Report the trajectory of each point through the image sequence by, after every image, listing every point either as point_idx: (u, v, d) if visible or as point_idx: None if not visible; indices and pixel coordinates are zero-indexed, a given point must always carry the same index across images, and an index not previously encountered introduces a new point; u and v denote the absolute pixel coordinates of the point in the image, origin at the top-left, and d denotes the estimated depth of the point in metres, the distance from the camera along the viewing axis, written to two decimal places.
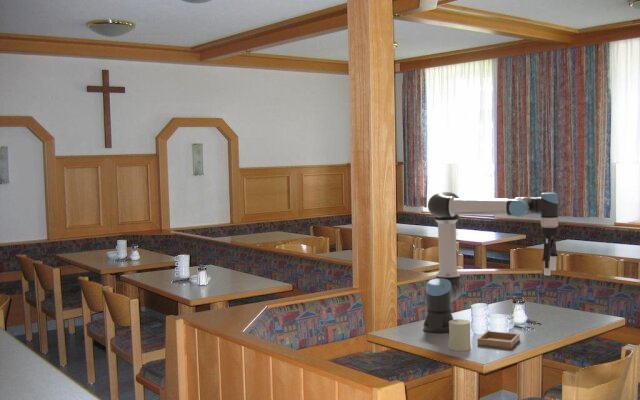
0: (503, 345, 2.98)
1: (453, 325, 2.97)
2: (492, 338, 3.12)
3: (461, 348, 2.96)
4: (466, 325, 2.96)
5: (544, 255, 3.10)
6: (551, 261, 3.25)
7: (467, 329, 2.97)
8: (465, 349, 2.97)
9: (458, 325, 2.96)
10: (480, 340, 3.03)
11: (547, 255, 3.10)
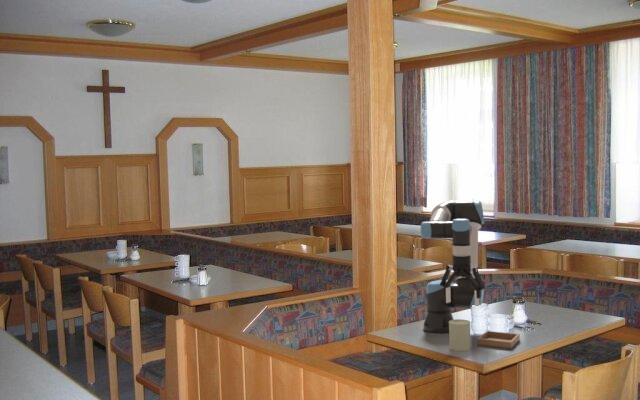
0: (503, 345, 2.98)
1: (453, 325, 2.97)
2: (492, 338, 3.12)
3: (461, 348, 2.96)
4: (466, 325, 2.96)
5: (481, 284, 2.93)
6: (448, 293, 3.03)
7: (467, 329, 2.97)
8: (465, 349, 2.97)
9: (458, 325, 2.96)
10: (480, 340, 3.03)
11: (483, 284, 2.94)
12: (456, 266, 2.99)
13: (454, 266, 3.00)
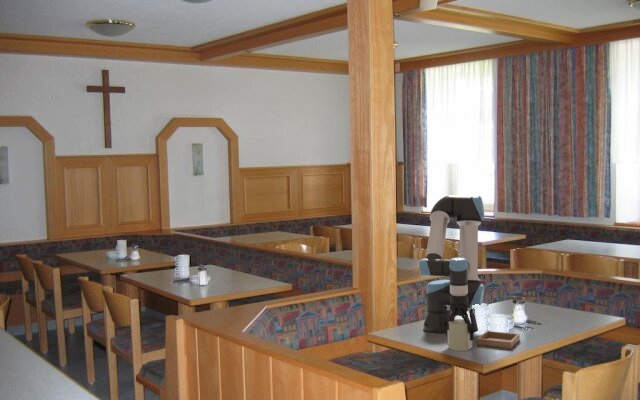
0: (503, 345, 2.98)
1: (453, 325, 2.97)
2: (492, 338, 3.12)
3: (461, 348, 2.96)
4: (466, 325, 2.96)
5: (475, 327, 2.95)
6: None
7: (467, 329, 2.97)
8: (465, 349, 2.97)
9: (458, 325, 2.96)
10: (480, 340, 3.03)
11: (476, 326, 2.96)
12: (453, 304, 3.00)
13: (451, 305, 3.01)
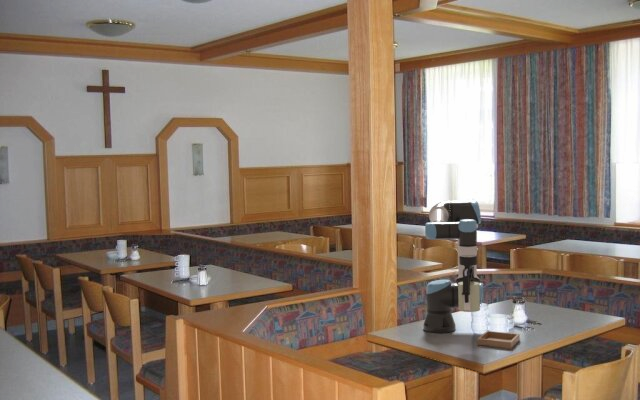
0: (503, 345, 2.98)
1: None
2: (492, 338, 3.12)
3: (459, 308, 3.00)
4: None
5: (464, 289, 2.94)
6: None
7: None
8: (462, 310, 2.99)
9: (458, 284, 3.00)
10: (480, 340, 3.03)
11: (467, 289, 2.93)
12: None
13: None
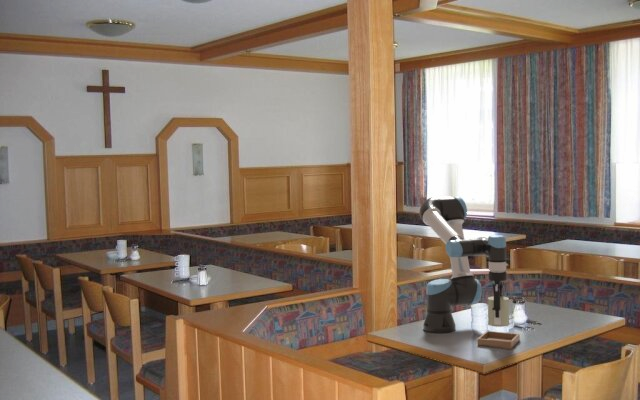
0: (503, 345, 2.98)
1: None
2: (492, 338, 3.12)
3: (489, 322, 3.04)
4: (493, 301, 3.02)
5: (495, 304, 2.98)
6: None
7: None
8: (492, 324, 3.03)
9: (488, 299, 3.05)
10: (480, 340, 3.03)
11: (498, 304, 2.98)
12: None
13: None
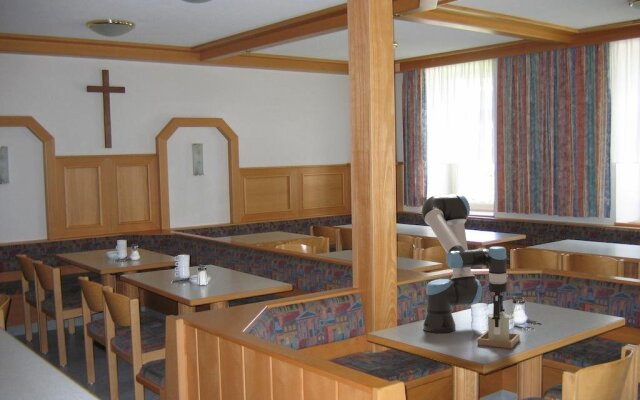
0: (503, 345, 2.98)
1: None
2: None
3: None
4: (493, 319, 3.02)
5: (494, 314, 2.97)
6: None
7: None
8: None
9: (488, 317, 3.06)
10: (480, 340, 3.03)
11: (497, 314, 2.96)
12: None
13: None
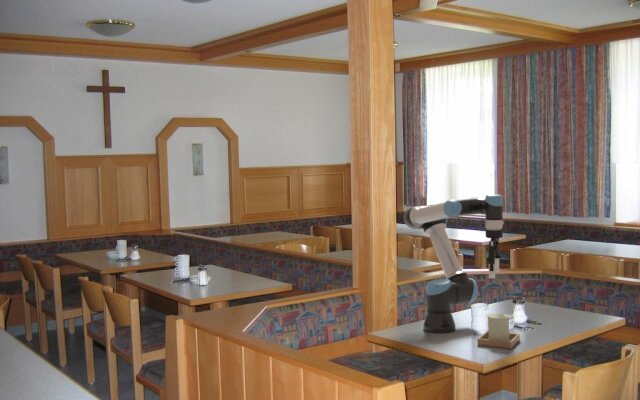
0: (503, 345, 2.98)
1: None
2: None
3: None
4: (493, 319, 3.02)
5: (489, 258, 3.08)
6: (494, 263, 3.23)
7: (495, 323, 3.02)
8: None
9: (488, 317, 3.05)
10: (480, 340, 3.03)
11: (492, 258, 3.07)
12: None
13: None
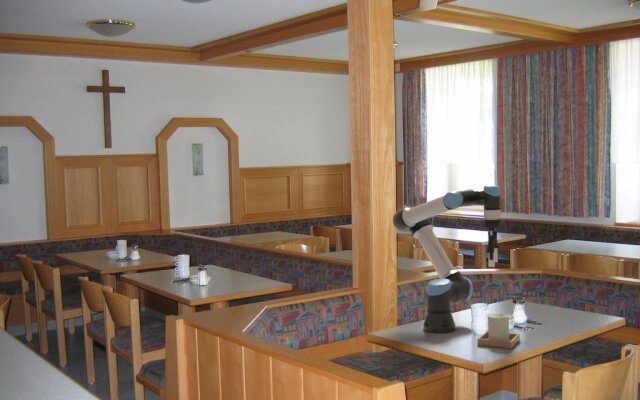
0: (503, 345, 2.98)
1: None
2: None
3: None
4: (493, 319, 3.02)
5: (489, 247, 3.14)
6: None
7: (495, 323, 3.02)
8: None
9: (488, 317, 3.05)
10: (480, 340, 3.03)
11: (492, 247, 3.14)
12: None
13: None
